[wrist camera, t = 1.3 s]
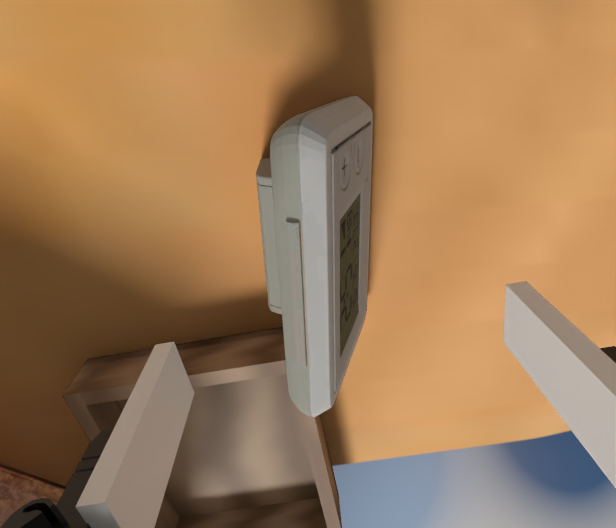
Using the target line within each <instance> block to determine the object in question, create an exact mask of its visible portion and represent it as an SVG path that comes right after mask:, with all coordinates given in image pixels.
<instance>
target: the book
mask: <svg viewBox="0 0 616 528" xmlns="http://www.w3.org/2000/svg"><path fill="white" fill-rule="evenodd" d="M65 488H66V487H65V486H62V485H59V484H56V483H53V482H51V481H48V480H45V479H42V478H39V477H36V476H34V475H31V474H28V473H25V472H22V471H20V470H17V469H14V468H11V467H8V466H5V465H3V464H0V528H1V527H2V525H3V524H4V522H5V521H6V520H7V519H8V518H9V517H10V516H11V515H12V514H13V513H14V512H15V511H16V510H18V509H19V508H20V507H21V506H23V505H25V504H27V503H29V502H31V501H32V500H36V499H40V498H47V499H51V500H52V501H53V503H54V504H55V505H57V503H58V501H59V499H60V498H61V496H62V494H63V492H64V490H65Z"/></svg>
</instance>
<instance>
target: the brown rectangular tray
mask: <svg viewBox="0 0 616 528" xmlns="http://www.w3.org/2000/svg"><path fill="white" fill-rule="evenodd" d="M176 348H177V350H178V353H179V355H180V358H181V360H182V363H183V365H184V368H185V370H186V373H187V375H188V378H189V380H190V383H191V385H192V388H193V390H194V397H193V400H192V403H191V407H190V410H189V413H188V417H187V420H186V423H185V427H184V430H183V434H182V437H181V440H180V444H179V447H178V450H177V454H176V457H175V460H174V464H173V467H172V470H171V474H170V477H169V480H168V484H167V487H166V490H165V494H164V497H163V500H162V504H161V507H160V510H159V514H158V517H157V521H156V524H155V527H154V528H342V524H341V514H340V504H339V496H338V495H339V494H338V490H337V486H336V482H335V477H334V473H333V468H332V464H331V459H330V455H329V451H328V446H327V442H326V437H325V433H324V429H323V424H322V420H321V416H320V415H318V416H316V417H310V416H308V415H305V414H304V413H302V412H301V411H300V410H299V409H298V408H297V407H296V405H295V404H294V403H293V401H292V400H291V398H290V396H289V391H288V381H287V371H286V359H285V346H284V333H283V327H281V328H275V329H269V330H263V331H257V332H251V333H245V334H238V335H232V336H226V337H220V338H214V339H208V340H202V341H196V342H190V343H184V344H178V345H176ZM152 350H153V349H148V350H142V351H135V352H129V353H123V354H117V355H111V356H105V357H99V358H93V359H88V360H87V361H86V363H85V364H84V366H83V367H82V368H81V370H80V371H79V373H78V374H77V376H76V377H75V379H74V380H73V381H72V383H71V384H70V386H69V387H68V389H67V390H66V391H65V393H64V394H63V398H64V399H65V401H66V403H67V404H68V406H69V408H70V409H71V411H72V413H73V414H74V416H75V417H76V419H77V421H78V422H79V424H80V426H81V427H82V429H83V431H84V432H85V434H86V436H87V437H88V439H89V441H90V442H92V441H93V439H94V438H95V437H96V436H97V435H98V434H99V433H100V432H101V431H102V430H106V429H112V428H114V427H115V425H116V423H117V421H118V419H119V417H120V415H121V413H122V411H123V409H124V407H125V405H126V403H127V401H128V399H129V397H130V395H131V393H132V391H133V389H134V387H135V385H136V383H137V381H138V379H139V377H140V375H141V373H142V371H143V369H144V367H145V364H146V362H147V360H148V358H149V356H150V354H151V352H152Z"/></svg>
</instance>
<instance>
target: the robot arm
mask: <svg viewBox="0 0 616 528" xmlns="http://www.w3.org/2000/svg"><path fill="white" fill-rule="evenodd" d="M504 343H505V345H506V346H507V347H508V349H509V350H510V351H511V353H512V354H513V355H514V356H515V358H516V359H517V360H518V362H519V363H520V364H521V366H522V367H523V368H524V369H525V371H526V372H527V373H528V375H529V376H530V377H531V379H532V380H533V381H534V382H535V384H536V385H537V386H538V388H539V389H540V390H541V392H542V393H543V394H544V395H545V397H546V398H547V399H548V401H549V402H550V403H551V405H552V406H553V407H554V408H555V410H556V411H557V412H558V414H559V415H560V416H561V418H562V419H563V420H564V422H565V423H566V424H567V425H568V427H569V428H570V429H571V431H572V432H573V433H574V435H575V436H576V437H577V438H578V440H579V441H580V442H581V444H582V445H583V446H584V448H585V449H586V450H587V451H588V453H589V454H590V455H591V457H592V458H593V459H594V461H595V462H596V463H597V464H598V466H599V467H600V468H601V470H602V471H603V472H604V474H605V475H606V476H607V477H608V479H609V480H610V481H611V482H612V484H613V485H614V486H615V488H616V347H615V346H612V347H606V348H599V347H597V346H596V345H595V344H594V343H593V342H592V341H591V340H590V339H589V338H588V337H587V336H585V335H584V334H583V333H582V332H581V331H580V330H579V329H578V328H577V327H576V326H574V325H573V324H572V323H571V322H570V321H569V320H568V319H567V318H566V317H565V316H564V315H562V314H561V313H560V312H559V311H558V310H557V309H556V308H555V307H554V306H553V305H552V304H550V303H549V302H548V301H547V300H546V299H545V298H544V297H543V296H542V295H541V294H540V293H538V292H537V291H536V290H535V289H534V288H533V287H532V286H531V285H530V284H529V283H527V282H526V281H525V282H519V283H513V284H507V285H506V295H505V319H504ZM193 397H194V390H193V388H192V385H191V383H190V380H189V378H188V375H187V373H186V370H185V368H184V365H183V363H182V360H181V358H180V355H179V353H178V350H177V348H176V345H175V343H174V341H173V342H168V343H162V344H156V345H155V346H154V348H153V350H152V352H151V354H150V356H149V358H148V360H147V362H146V364H145V367H144V369H143V371H142V373H141V375H140V377H139V379H138V381H137V383H136V385H135V387H134V389H133V391H132V393H131V395H130V397H129V399H128V401H127V403H126V405H125V407H124V409H123V411H122V413H121V415H120V417H119V419H118V421H117V423H116V425H115V427H114V428H112V429H106V430H102V431H101V432H100V433H99V434H98V435H97V436H96V437H95V438H94V439H93V441H92V442H91V443H90V444H89V446H88V447H87V449H86V451H85V453H84V455H83V457H82V461H80V462H79V464H78V466H77V468H76V470H75V474H73V475H72V477H71V479H70V481H69V483H68V485H67V486H66V488H65V490H64V492H63V494H62V496H61V498H60V499H59V501H58V503H57V505H55V504H54V503H53V501H52V500H51V499H47V498H40V499H36V500H32V501H31V502H29V503H27V504H25V505H23V506H21V507H20V508H19V509H18V510H16V511H15V512H14V513H13V514H12V515H11V516H10V517H9V518H8V519H7V520H6V521H5V522H4V524H3V525H2V527H1V528H154V527H155V524H156V521H157V517H158V514H159V510H160V507H161V504H162V500H163V497H164V494H165V490H166V487H167V484H168V480H169V477H170V474H171V470H172V467H173V464H174V460H175V457H176V454H177V450H178V447H179V444H180V440H181V437H182V434H183V430H184V427H185V423H186V420H187V417H188V413H189V410H190V407H191V403H192V400H193Z"/></svg>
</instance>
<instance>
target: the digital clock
mask: <svg viewBox="0 0 616 528" xmlns="http://www.w3.org/2000/svg"><path fill="white" fill-rule="evenodd" d="M372 137H373V111H372V109H371V108H370V107H369V106H368V105H367V104H366V103H365V102H364V101H363V100H362V99H360V98H359V97H358V96H349V97H345V98H342V99H339V100H337V101H334V102H331V103H328V104H326V105H323V106H320V107H317V108H315V109H312V110H309V111H307V112H304V113H301V114H298V115H296V116H294V117H292V118H290V119H289V120H287V121H286V122H285V123H283V124H282V125H281V126H280V127H279V128H278V129H277V130H276V131H275V133H274V134H273V136H272V139H271V142H270V158H264V159H261V160H260V163H259V166H258V169H257V172H256V180H257V189H258V199H259V210H260V220H261V231H262V241H263V252H264V262H265V273H266V283H267V294H268V305H269V308H270V310H271V311H272V312H275V313H278V314H282V321H283V333H284V346H285V359H286V371H287V381H288V391H289V396H290V398H291V400H292V401H293V403H294V404H295V405H296V407H297V408H298V409H299V410H300V411H301V412H302V413H304V414H305V415H308V416H310V417H316V416H318V415H320V414H321V413H323V412H325V411H326V410H328V409H330V408H331V407H332V406H333V404H334V402H335V400H336V397H337V394H338V392H339V389H340V386H341V384H342V381H343V378H344V376H345V373H346V370H347V367H348V365H349V362H350V359H351V356H352V354H353V351H354V348H355V345H356V343H357V340H358V337H359V334H360V332H361V329H362V326H363V323H364V320H365V317H366V311H367V292H368V262H369V232H370V201H371V170H372Z"/></svg>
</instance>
